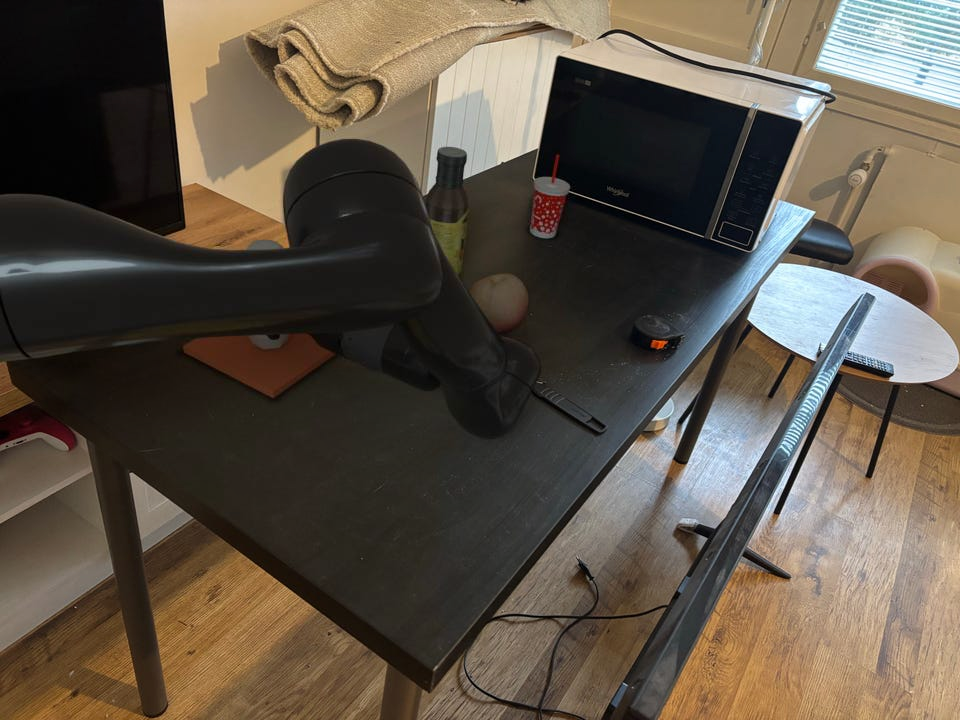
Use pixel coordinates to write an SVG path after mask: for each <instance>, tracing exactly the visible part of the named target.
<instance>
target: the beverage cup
mask: <svg viewBox="0 0 960 720" xmlns="http://www.w3.org/2000/svg"><path fill="white" fill-rule="evenodd" d="M559 159H560V154H556V155H555V161H554V165H553V171H552V176H540V177H537V178H535V179H534V181H533V188H534V191H533V201H532V208H531V218H530V225H529V232H530V234H531V235H533V236H534V237H537V238H539V239H540V238H541V239H552V238H555V237H556V234H557V230H558V227H559V224H560V221H561V217H562V212H563V209H564V207H565V206H564V205H565V202H566V199H567V195H568V194H569V193H570V189H571V185H570V184H569V183H568V182H567V181H565V180H563V179H560V178H557V177H556V175H557V169H558V165H559Z"/></svg>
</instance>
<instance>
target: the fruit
mask: <svg viewBox="0 0 960 720" xmlns="http://www.w3.org/2000/svg"><path fill="white" fill-rule="evenodd" d="M469 293H470V294H471V296H472V297H473V299H474V300H475V301H476V303H477V304H478V306H479V307H480V308H481V310H482V311H483V313H484V314H485V315H486V317H487V318H488V319H489V320H490V322H491V323H492V325H493V326H494V328H495V329H496V330H497V332H498V333H499V334H505V333H507V332H510V331H511V330H513V329H515V328H517V326H518V325H520V324H521V323H522V321H523V320H524V318H525V316H526V314H527V311H528V307H529V293H528V291H527V288H526V285H524V283H523V282H522V280H521V279H520V278H518V277H517V275H514V274H511V273H505V272H504V273H497V274H492V275H489V276H486V277H484V278H481V279H478V281H476V282H475V283H474V284H473V285H472V287H471V288H470V290H469Z"/></svg>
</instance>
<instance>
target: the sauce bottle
mask: <svg viewBox="0 0 960 720" xmlns="http://www.w3.org/2000/svg"><path fill="white" fill-rule="evenodd" d="M435 160H436V162H437V165H436V166H437V168H436V176H435V183H434V184H433V185H432V186H431V188H430V189H429V191H428V193H427V194H426V197H425V206H426V209H427V212H428V216H429V219H430V222H431V226H432V229H433V232H434V234H435V236H436V238H437V240H438V242H439V244H440V246H441V248H442V250H443V251H444V253H445V255H446V257H447V259H448V260H449V262H450V264H451V265H452V267H453V268H454V270H455V272H456V273H457V275H458V276H459V277H460V275H461V274H462V270H463V262H464V261H463V260H464V253H465V246H466V237H467V229H468V217H469V208H470V204H469V197H468V194H467V192H466V190H465V188H464V187H463V185H464V174H465V166H466V164H467V160H468V153H467V151H466V150H464V149H462V148H459V147H455V146H441V147H439V148H438V149H437V153H436V159H435Z"/></svg>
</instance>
